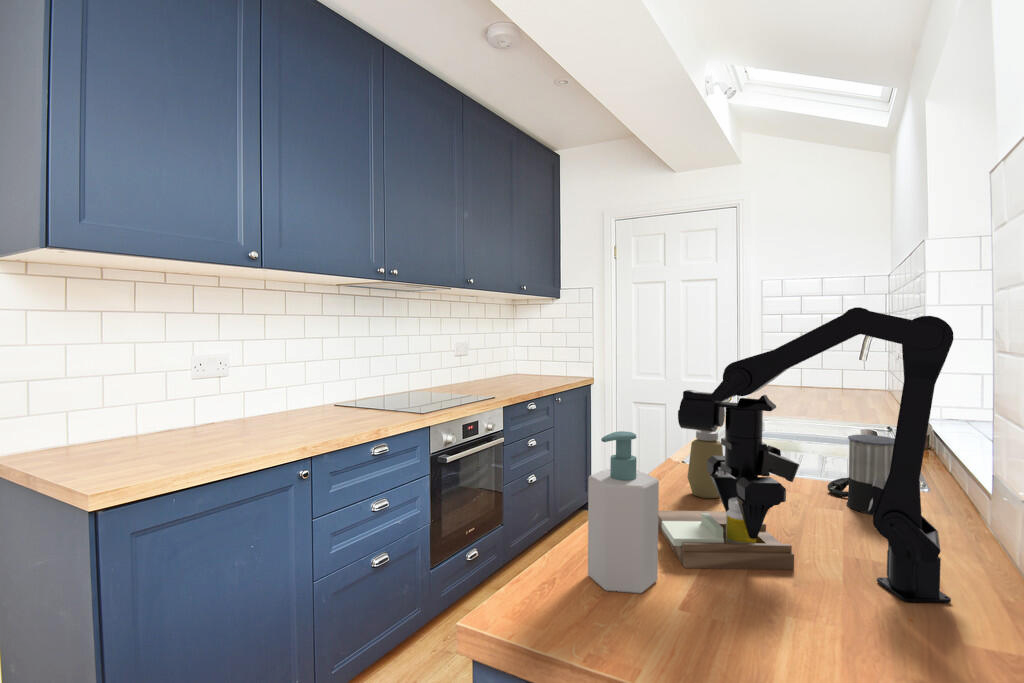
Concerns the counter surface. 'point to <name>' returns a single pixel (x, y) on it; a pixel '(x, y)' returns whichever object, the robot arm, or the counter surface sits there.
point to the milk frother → (864, 469)
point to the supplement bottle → (736, 525)
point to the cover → (694, 531)
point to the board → (728, 547)
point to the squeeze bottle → (703, 463)
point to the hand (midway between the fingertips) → (741, 527)
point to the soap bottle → (623, 522)
